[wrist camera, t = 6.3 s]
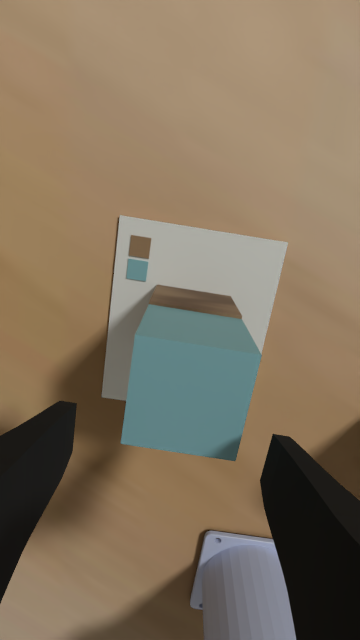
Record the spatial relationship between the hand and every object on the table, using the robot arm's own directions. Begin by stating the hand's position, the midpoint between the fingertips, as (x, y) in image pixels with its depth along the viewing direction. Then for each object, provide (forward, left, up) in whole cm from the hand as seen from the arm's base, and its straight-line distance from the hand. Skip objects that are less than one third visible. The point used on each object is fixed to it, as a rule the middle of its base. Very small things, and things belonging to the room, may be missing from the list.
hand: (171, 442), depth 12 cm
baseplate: (0, -1, -10) cm, 10 cm away
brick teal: (0, -1, -6) cm, 6 cm away
